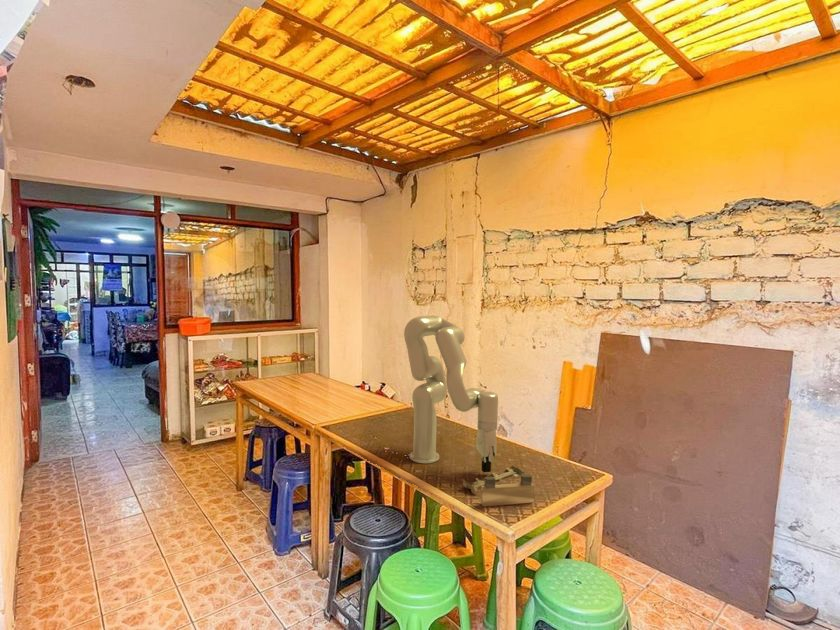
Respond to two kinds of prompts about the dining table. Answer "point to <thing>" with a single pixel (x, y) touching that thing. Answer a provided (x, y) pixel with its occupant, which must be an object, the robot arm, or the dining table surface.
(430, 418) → the robot arm
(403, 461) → the dining table surface
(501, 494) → the notched board
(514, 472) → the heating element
